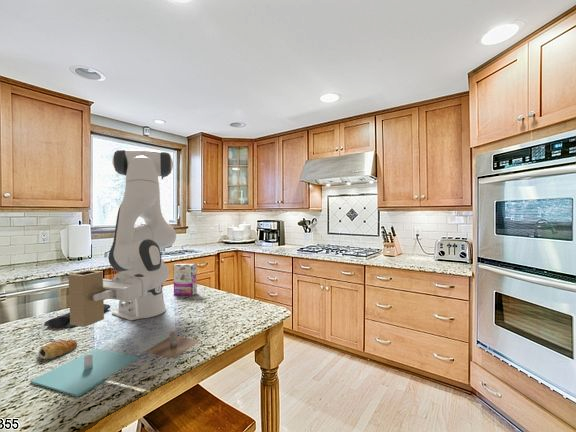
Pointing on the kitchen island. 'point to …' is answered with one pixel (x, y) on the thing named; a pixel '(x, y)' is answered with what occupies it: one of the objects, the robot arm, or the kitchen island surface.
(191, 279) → the candy bar box
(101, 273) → the bronze sleeve
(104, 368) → the teal hub plate
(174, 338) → the walnut stand
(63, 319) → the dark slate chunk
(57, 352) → the pastry
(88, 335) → the kitchen island surface
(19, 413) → the kitchen island surface
